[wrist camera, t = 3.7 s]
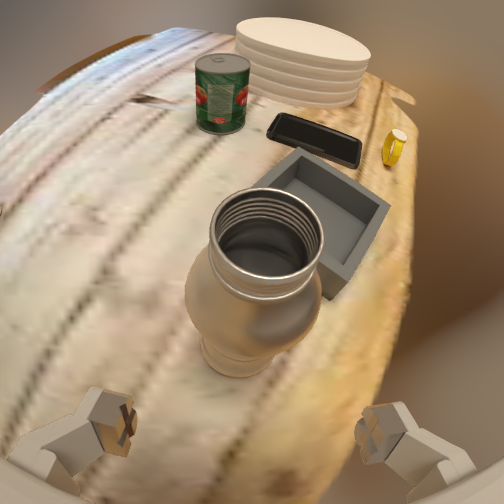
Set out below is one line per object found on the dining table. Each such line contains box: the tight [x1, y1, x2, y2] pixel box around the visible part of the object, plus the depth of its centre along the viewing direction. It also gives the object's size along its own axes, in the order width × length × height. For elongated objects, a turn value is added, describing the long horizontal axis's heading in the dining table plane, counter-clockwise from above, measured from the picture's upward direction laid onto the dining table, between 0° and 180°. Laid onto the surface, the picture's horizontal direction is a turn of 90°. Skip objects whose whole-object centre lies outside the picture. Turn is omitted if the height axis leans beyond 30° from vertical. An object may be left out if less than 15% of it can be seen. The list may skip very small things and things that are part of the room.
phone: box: [267, 113, 362, 169], centre depth 42 cm, size 8×1×15 cm
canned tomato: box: [195, 53, 251, 135], centre depth 38 cm, size 8×8×11 cm
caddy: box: [251, 147, 391, 301], centre depth 32 cm, size 13×12×5 cm
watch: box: [382, 129, 407, 166], centre depth 40 cm, size 6×3×6 cm, turn 166°
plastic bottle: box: [185, 187, 325, 378], centre depth 18 cm, size 6×7×20 cm
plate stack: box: [234, 18, 371, 109], centre depth 50 cm, size 28×28×12 cm
